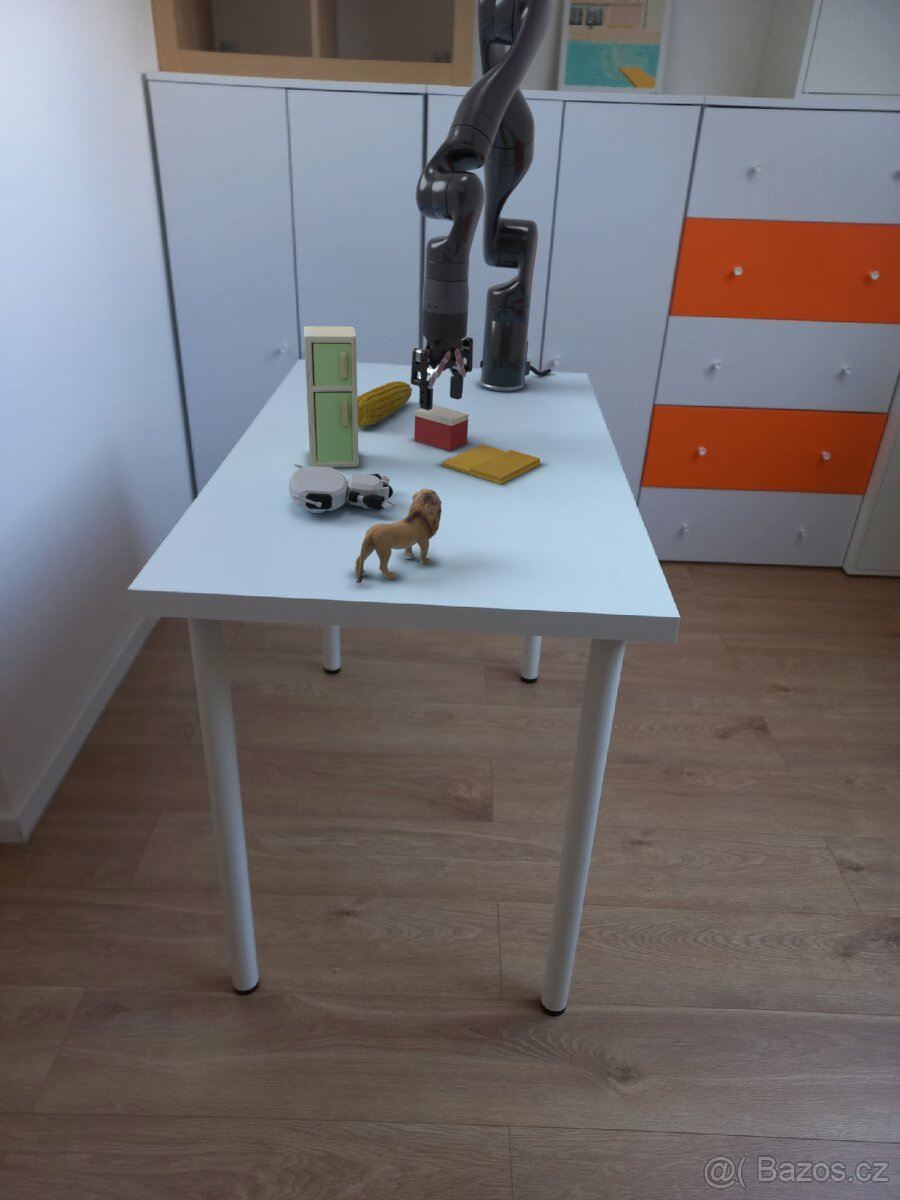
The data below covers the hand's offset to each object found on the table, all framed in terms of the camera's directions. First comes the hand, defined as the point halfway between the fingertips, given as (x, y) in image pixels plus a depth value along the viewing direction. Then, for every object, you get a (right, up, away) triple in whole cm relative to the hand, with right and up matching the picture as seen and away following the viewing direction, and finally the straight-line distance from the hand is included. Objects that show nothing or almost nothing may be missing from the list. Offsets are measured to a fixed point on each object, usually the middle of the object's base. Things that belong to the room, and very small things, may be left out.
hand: (441, 403), depth 144 cm
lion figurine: (-5, -30, -38) cm, 48 cm away
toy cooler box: (0, -6, +3) cm, 7 cm away
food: (-12, +1, +15) cm, 19 cm away
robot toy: (-14, -20, -22) cm, 34 cm away
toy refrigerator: (-18, -12, -7) cm, 22 cm away
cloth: (+8, -12, -5) cm, 15 cm away
